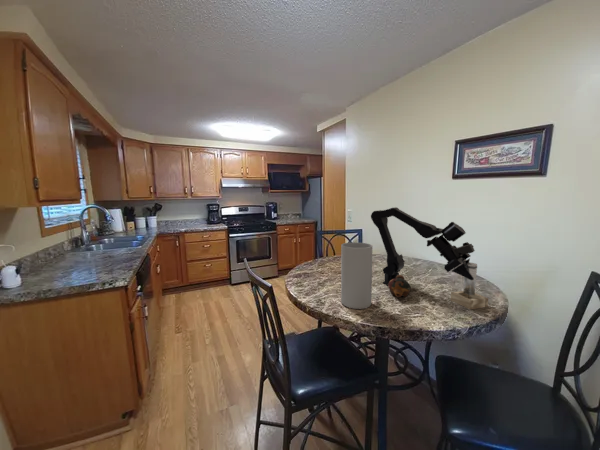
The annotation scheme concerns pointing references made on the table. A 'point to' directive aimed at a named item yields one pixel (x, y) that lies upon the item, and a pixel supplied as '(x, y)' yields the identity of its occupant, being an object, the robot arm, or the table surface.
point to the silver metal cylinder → (470, 284)
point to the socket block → (469, 300)
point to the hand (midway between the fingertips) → (474, 278)
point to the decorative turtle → (399, 286)
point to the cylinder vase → (356, 275)
